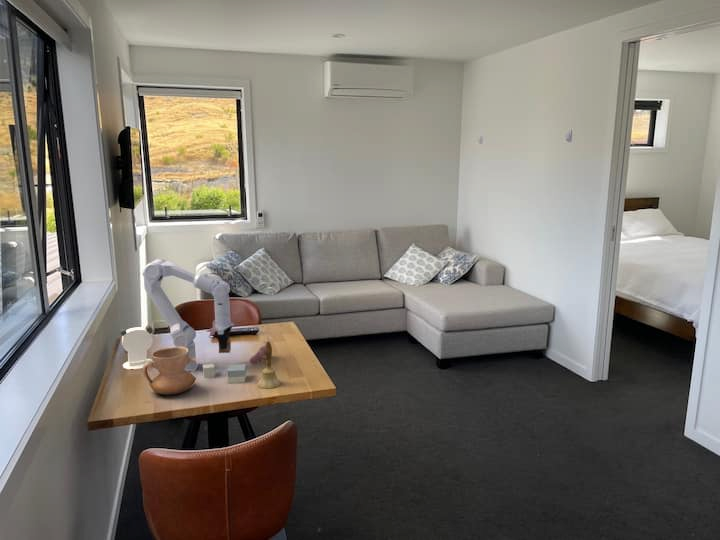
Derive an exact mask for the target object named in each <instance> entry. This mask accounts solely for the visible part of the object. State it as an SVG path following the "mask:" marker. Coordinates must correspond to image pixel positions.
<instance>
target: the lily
mask: <svg viewBox="0 0 720 540" xmlns="http://www.w3.org/2000/svg"><path fill="white" fill-rule="evenodd" d="M215 331H218V330H217V328H216V327H215V319H214V320H213V321H212V327H211V328H209V329H207V330H206V333H207V332H208V333H209V335H208V338H209V337H210V336H212V335H214V334H215ZM214 336H215V335H214ZM212 337H213V336H212ZM210 338H211V337H210Z"/></svg>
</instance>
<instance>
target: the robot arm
mask: <svg viewBox="0 0 720 540" xmlns="http://www.w3.org/2000/svg"><path fill="white" fill-rule="evenodd" d="M141 274H142V276H143V283H144V284H143V286H144V290H145V292H146V293H147V295H148V296H149V298H150V299H151V301H152V302H153V304H154V306H155V307H156V309H157V310H158V311H159V313H160V315H161V316H162V318H163V320H164V321H165V322H166V324H167V325H168V327H169V329H170V335H171V336H170V337H171V338H172V343H173V345H174V347H184V348H187V349H188V351H189V355H188V358H196V359H197V355H196V343H195V341H194V340H195V338H196V337H197V335H196V331H195V329H194V327H191V326H190V325H189V324H188V323H187V322H186V321H184V320H183V319H182V317H181V316H180V314H179V313H178V311H177V310H176V308H175V307H174V305H173V303H172V301H170V299H169V297H168V296H167V294H166V293H165V291H164V290H163V288H162V287H161V285H162V282H163V278H166V277H170V276H173V277H176V278H178V279H182V280H184V281H187V282H190V283H192V284H193V286H194V288H196V289H197V290H198V289H199V290H201V291H203V292H206V293H208V294H211V295H212V297H213V299H214V300H213V301H214V303H213V304H214V305H213V307H214V320H215V327H216V328H217V330H218V331H215V335H214V336H215V337H216V339H217V341H218V346H219V345H220V348H221V349H226V347H227V340H230V334H231V330H232V328H233V327H234V325H235V323H234V322H231V306H230V305H231V304H230V302H231V301H230V295H229V293H230V291H231V286H230V284H229V283H228V282H226V281H225V280H220V279H219V278H213V277H211V276H208V273H206V272H205V273H198V274H195V273H193V272H192V271H189V270H188V269H185V268H183V267H181V266H178V265H177V264H175V263H173V262H171V261H168V260H165V259H163V258H156V259H154V260H153V261H152V262H150V263H149V262H148V263H147V264H146V265H145V266H144V268H143V271H142V273H141ZM172 347H173V346H171V347H170V348H172ZM199 364H200V363H199V362H197V360H196V361H195V362H189V363H188V364H187V365H186V366H185V369H184V370H186V371H188V372H195V371H196V370H197V368H198V366H199Z"/></svg>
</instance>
